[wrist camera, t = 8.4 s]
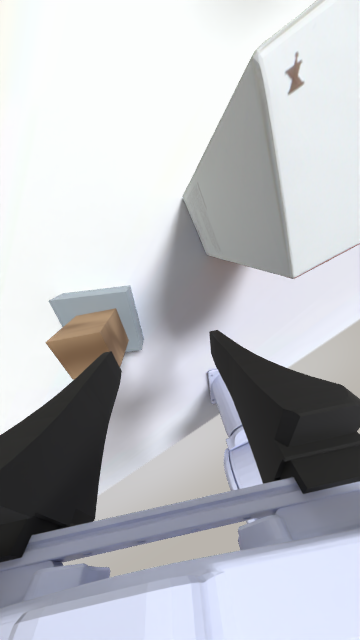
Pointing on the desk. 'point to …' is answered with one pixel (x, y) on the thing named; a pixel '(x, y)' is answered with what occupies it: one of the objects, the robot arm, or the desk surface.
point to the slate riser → (102, 309)
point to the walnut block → (89, 340)
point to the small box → (287, 150)
